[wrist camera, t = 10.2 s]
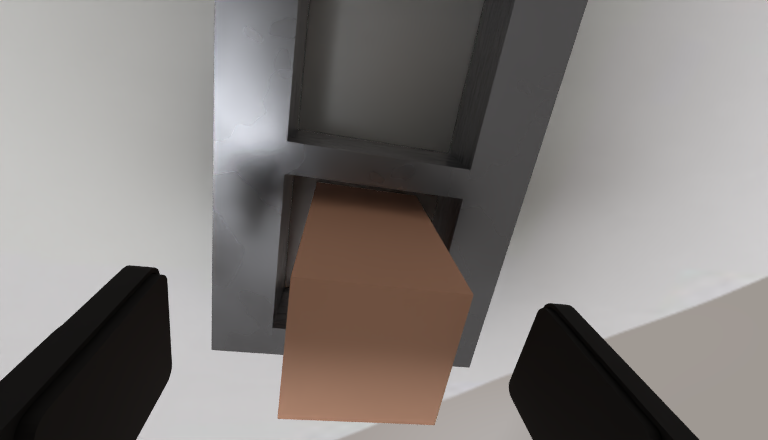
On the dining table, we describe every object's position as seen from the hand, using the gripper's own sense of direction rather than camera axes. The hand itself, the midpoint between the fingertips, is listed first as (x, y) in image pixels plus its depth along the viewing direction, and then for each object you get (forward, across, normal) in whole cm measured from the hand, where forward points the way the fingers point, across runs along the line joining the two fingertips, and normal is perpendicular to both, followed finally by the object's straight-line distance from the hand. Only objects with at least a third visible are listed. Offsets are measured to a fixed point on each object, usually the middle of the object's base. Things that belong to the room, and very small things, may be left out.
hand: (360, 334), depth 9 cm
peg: (+8, 0, +1) cm, 8 cm away
